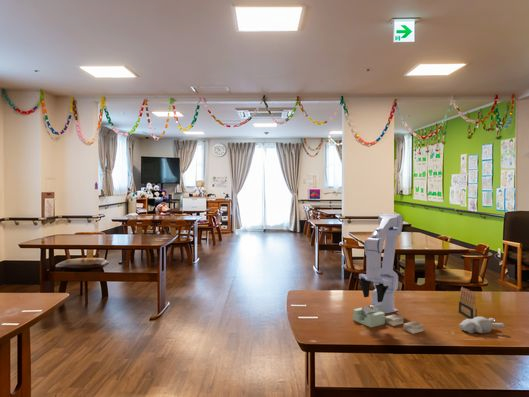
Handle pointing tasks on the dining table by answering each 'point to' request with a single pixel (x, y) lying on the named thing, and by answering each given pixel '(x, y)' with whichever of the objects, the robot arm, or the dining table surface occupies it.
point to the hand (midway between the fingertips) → (373, 299)
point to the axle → (371, 309)
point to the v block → (369, 318)
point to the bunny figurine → (479, 325)
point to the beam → (409, 327)
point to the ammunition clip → (467, 304)
